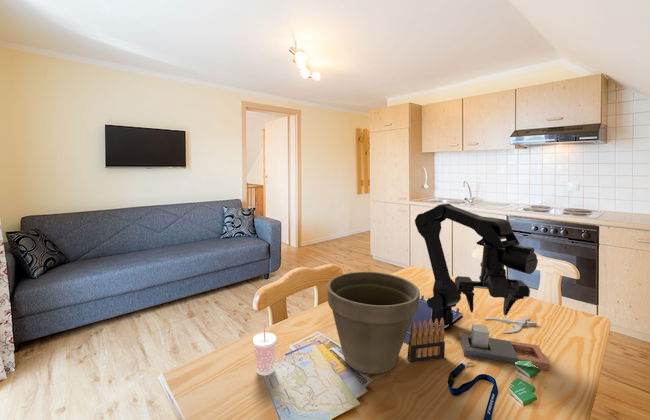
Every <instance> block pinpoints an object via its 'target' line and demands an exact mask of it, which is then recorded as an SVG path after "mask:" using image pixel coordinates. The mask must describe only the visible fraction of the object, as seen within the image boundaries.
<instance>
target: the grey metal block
mask: <svg viewBox="0 0 650 420" xmlns="http://www.w3.org/2000/svg"><path fill="white" fill-rule="evenodd" d="M489 331H490V330H489V328H488V326H487V325H484V324H483V325H482V324H474V323H472V324H471V331H470V332H471V333H470V335H471V341H470V347H471V348H477V349H483V350H488V341H489V338H490V332H489Z"/></svg>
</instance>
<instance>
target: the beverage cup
mask: <svg viewBox="0 0 650 420" xmlns="http://www.w3.org/2000/svg"><path fill="white" fill-rule="evenodd" d="M262 324H263V327H262V328H263V332H261V333H258V334H256V335H254V337H253V338H252V339H253V340H252V345H253V346H254V356H255V364H256V365H255V366H256V373H257V375H260V376H269V375H271V374H272V373H273V372H274V370H275V359H276V358H275V356H276V342H277V336H276V335H275V334H274V333H272V332H266V320H263V323H262Z"/></svg>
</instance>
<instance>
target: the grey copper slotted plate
mask: <svg viewBox="0 0 650 420" xmlns="http://www.w3.org/2000/svg"><path fill="white" fill-rule="evenodd" d="M470 341H471V334H466V333H460V344H461V348H462V353H463V356H464V357H467V358H472V359H473V358H474V359H479V360H484V361H492V362H496V363H502V364H507V365H508V364H510V365H514V366H516V365H515V362H517V361H531V362H532V364H533V365H535V366H536V367H538V368H539V369H538V370H543V371H550V363H549V361H548V359H547V358H546V356H545V354H544V353H543V351H542V350H541V348H540V346H539V345H537V344H531V343H525V342H519V341H512V340H507V339H501V338H500V339H498V338H493V337H489V341H488V350H483V349H477V348H471V347H470ZM517 353H524V354H525V353H526V354H530V355H532V356H533V357H530V356H525V355H520V354H517Z"/></svg>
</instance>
